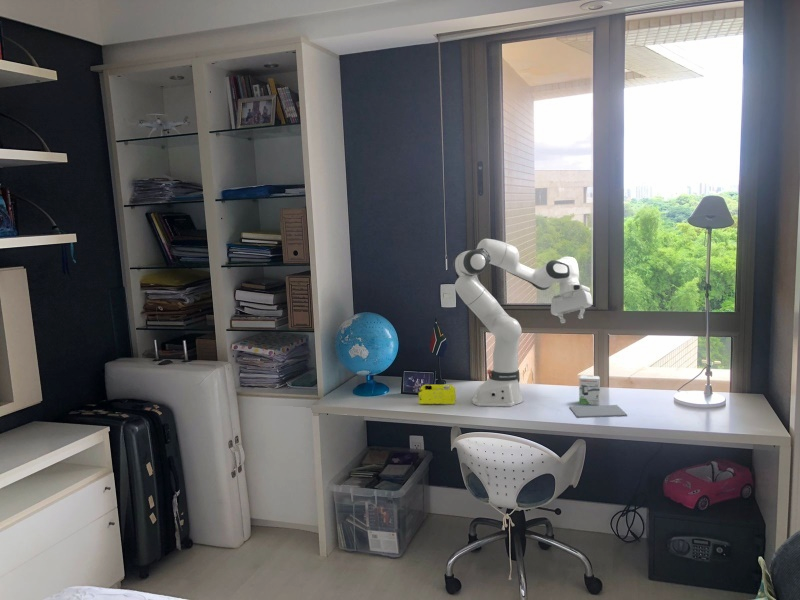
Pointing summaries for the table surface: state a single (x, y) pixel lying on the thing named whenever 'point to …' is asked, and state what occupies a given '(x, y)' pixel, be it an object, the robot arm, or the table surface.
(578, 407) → the mat
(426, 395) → the yellow camera
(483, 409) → the table surface
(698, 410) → the table surface
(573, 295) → the robot arm
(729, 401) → the table surface
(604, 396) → the table surface
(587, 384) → the ink box
